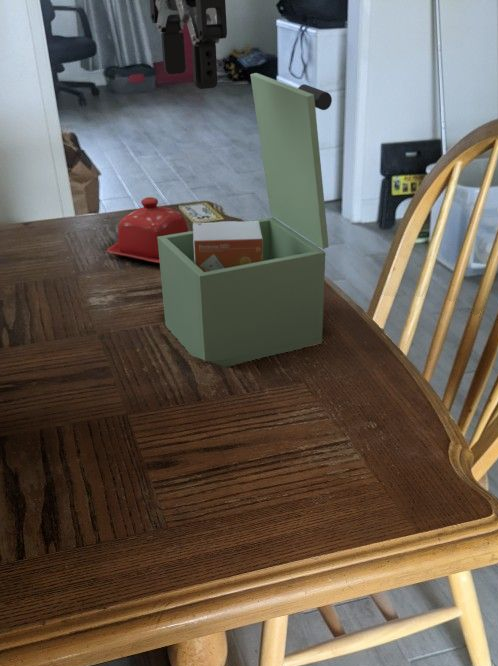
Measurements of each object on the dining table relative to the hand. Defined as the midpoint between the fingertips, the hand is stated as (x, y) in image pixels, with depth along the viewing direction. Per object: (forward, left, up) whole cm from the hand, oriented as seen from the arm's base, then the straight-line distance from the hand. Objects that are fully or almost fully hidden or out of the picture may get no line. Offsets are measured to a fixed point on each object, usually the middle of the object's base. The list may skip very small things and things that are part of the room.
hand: (189, 80), depth 80 cm
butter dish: (-26, +21, -30) cm, 45 cm away
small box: (+1, +4, -29) cm, 30 cm away
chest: (+2, +5, -30) cm, 31 cm away
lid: (+5, +10, -10) cm, 15 cm away
